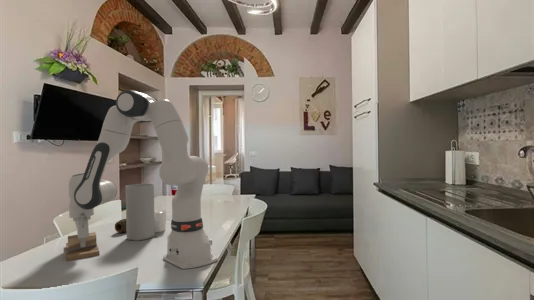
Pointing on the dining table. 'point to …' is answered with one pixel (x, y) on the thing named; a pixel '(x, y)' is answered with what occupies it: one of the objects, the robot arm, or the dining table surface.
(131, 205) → the cylinder vase
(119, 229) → the brown wooden tube
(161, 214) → the white cup
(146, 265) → the dining table surface
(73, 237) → the sanding block
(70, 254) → the board
